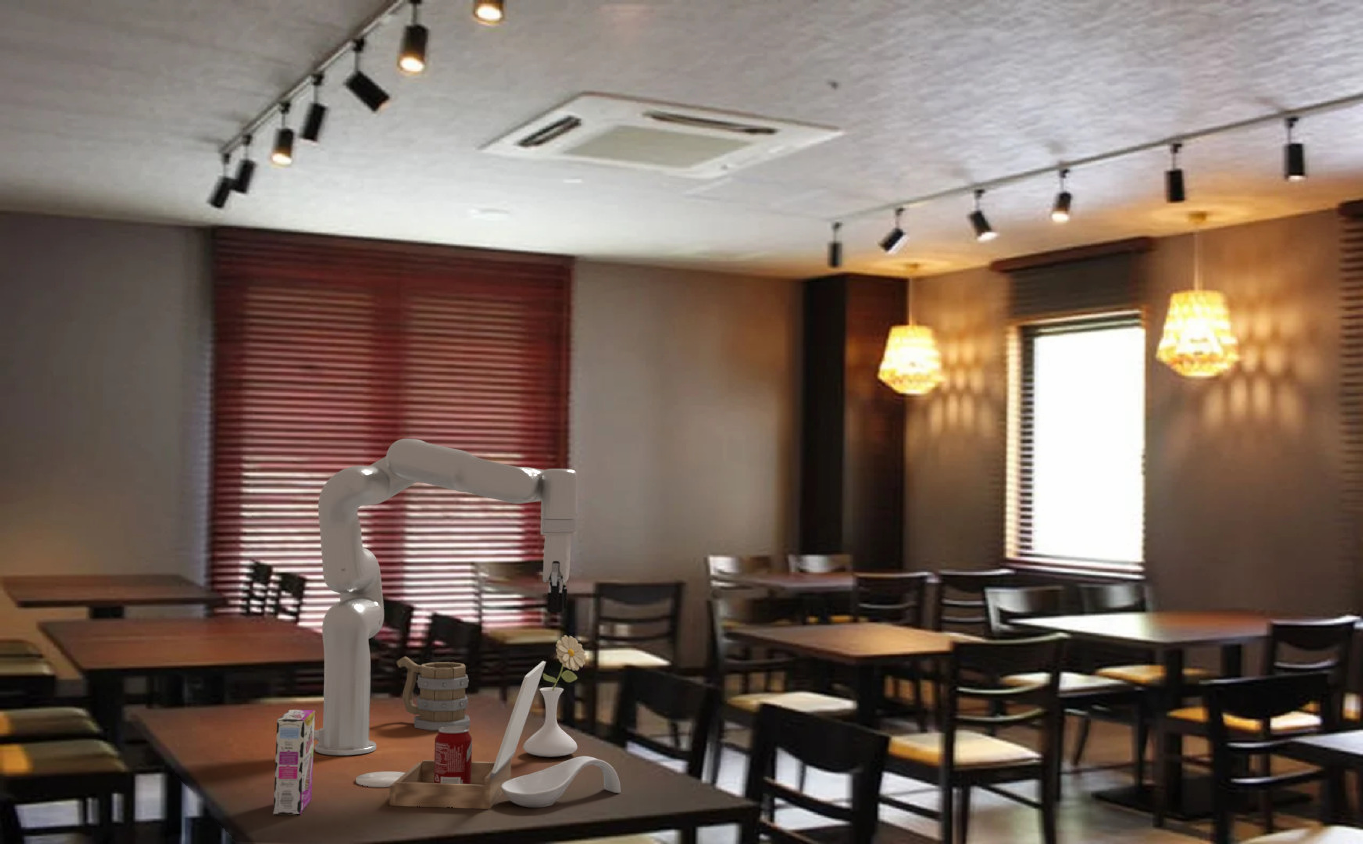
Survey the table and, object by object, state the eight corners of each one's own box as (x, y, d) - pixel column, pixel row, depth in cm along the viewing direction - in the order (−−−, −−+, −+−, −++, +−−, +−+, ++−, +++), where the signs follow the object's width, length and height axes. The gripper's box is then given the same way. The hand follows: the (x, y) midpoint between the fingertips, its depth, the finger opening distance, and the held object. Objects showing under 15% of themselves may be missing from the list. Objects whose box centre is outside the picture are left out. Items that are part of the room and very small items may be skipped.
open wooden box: (389, 805, 250) (390, 775, 251) (417, 780, 270) (418, 752, 271) (489, 809, 249) (490, 778, 249) (510, 783, 269) (511, 755, 269)
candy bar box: (302, 816, 242) (304, 720, 243) (272, 816, 242) (275, 719, 242) (313, 800, 253) (316, 708, 254) (285, 800, 253) (287, 708, 253)
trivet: (348, 786, 265) (348, 783, 265) (365, 773, 276) (365, 770, 276) (406, 788, 264) (406, 785, 264) (420, 775, 275) (420, 772, 275)
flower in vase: (534, 762, 289) (537, 640, 290) (515, 752, 299) (517, 633, 300) (593, 757, 295) (595, 637, 296) (571, 747, 305) (574, 631, 306)
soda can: (463, 799, 256) (464, 733, 256) (428, 797, 257) (429, 731, 258) (475, 791, 262) (477, 726, 263) (441, 789, 264) (443, 724, 264)
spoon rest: (523, 816, 246) (524, 774, 246) (488, 803, 255) (489, 763, 255) (632, 798, 261) (632, 759, 261) (595, 786, 270) (595, 748, 270)
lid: (524, 676, 250) (528, 677, 250) (542, 660, 270) (546, 662, 270) (489, 777, 249) (493, 778, 249) (510, 754, 269) (514, 756, 269)
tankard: (480, 724, 330) (482, 660, 330) (443, 732, 319) (445, 666, 320) (417, 715, 341) (418, 653, 341) (379, 722, 330) (381, 658, 330)
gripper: (544, 525, 304) (543, 605, 303) (536, 529, 286) (535, 614, 286) (579, 526, 304) (578, 606, 303) (573, 530, 286) (572, 614, 286)
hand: (557, 609), depth 295 cm, fingers open, 9 cm apart
